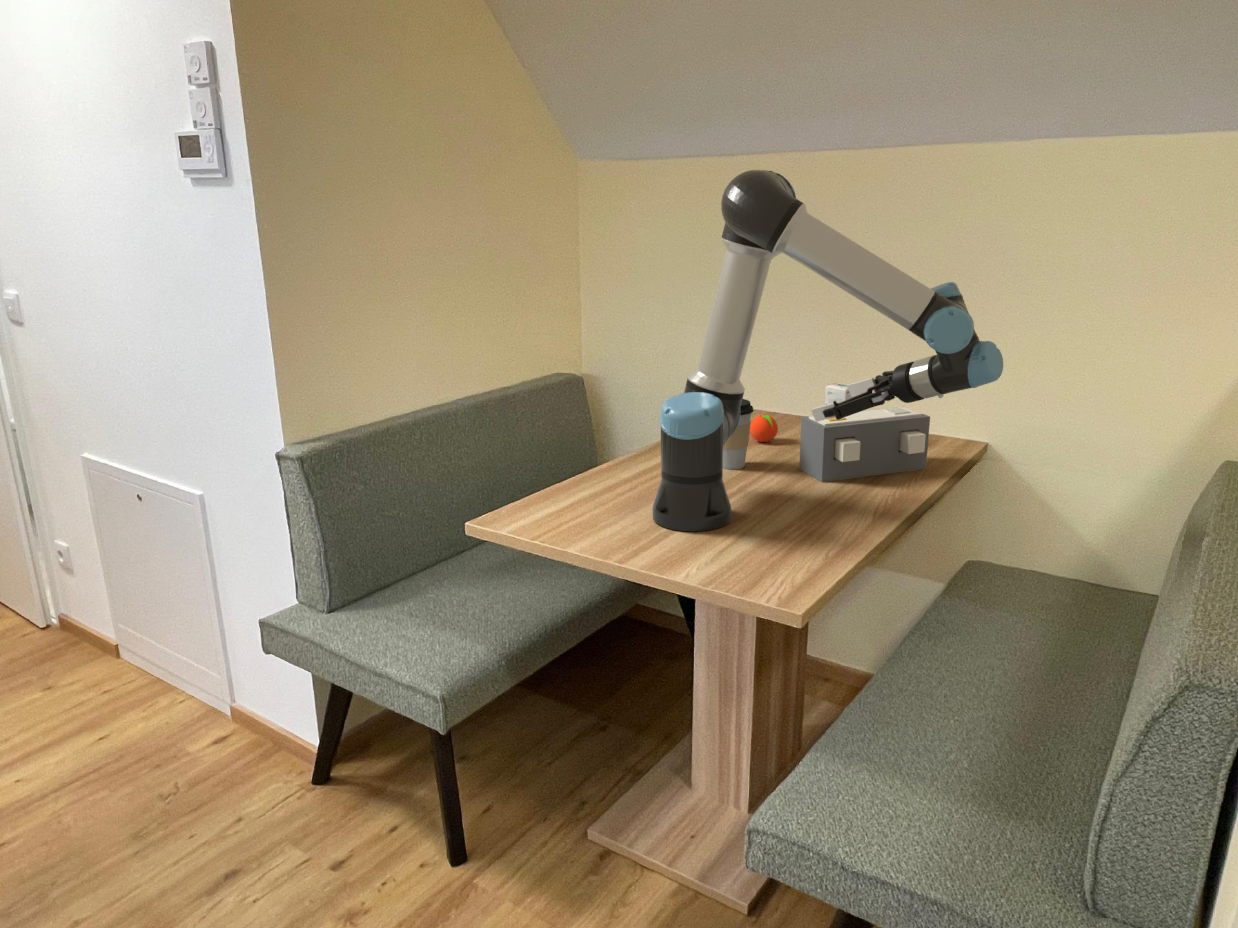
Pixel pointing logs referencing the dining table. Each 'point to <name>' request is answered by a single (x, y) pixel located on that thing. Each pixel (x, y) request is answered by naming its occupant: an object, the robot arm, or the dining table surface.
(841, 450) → the left button
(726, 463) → the coffee cup
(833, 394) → the syrup box
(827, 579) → the dining table surface
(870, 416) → the console
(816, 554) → the dining table surface
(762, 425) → the clementine
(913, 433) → the right button
